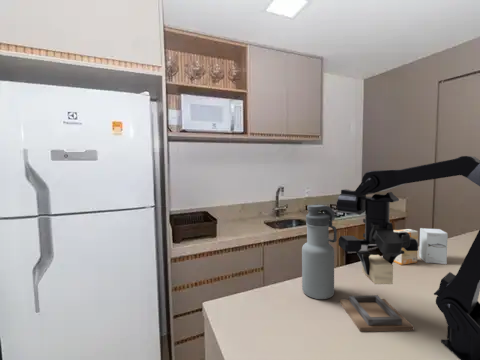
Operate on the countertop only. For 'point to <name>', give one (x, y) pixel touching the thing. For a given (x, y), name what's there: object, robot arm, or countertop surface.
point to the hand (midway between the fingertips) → (376, 274)
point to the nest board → (374, 314)
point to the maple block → (379, 270)
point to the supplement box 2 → (433, 246)
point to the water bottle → (318, 253)
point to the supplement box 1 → (408, 255)
